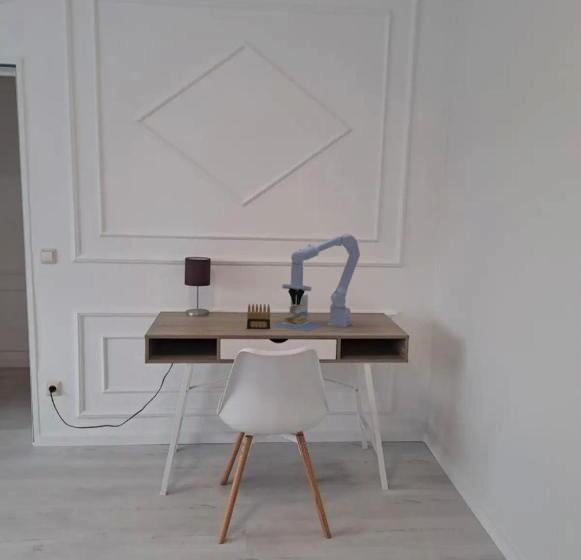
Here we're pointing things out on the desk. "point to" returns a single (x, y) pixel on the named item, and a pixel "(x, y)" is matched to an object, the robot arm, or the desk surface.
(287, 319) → the base slab
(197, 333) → the desk surface
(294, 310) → the top block
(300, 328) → the board
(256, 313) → the ammunition clip
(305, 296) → the ink box
